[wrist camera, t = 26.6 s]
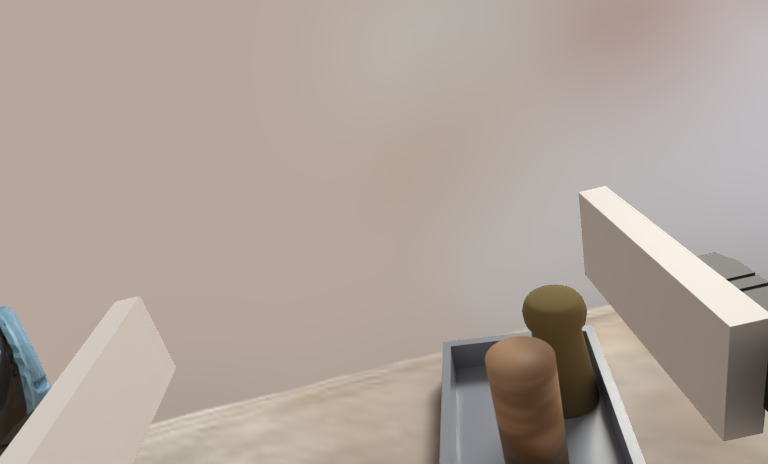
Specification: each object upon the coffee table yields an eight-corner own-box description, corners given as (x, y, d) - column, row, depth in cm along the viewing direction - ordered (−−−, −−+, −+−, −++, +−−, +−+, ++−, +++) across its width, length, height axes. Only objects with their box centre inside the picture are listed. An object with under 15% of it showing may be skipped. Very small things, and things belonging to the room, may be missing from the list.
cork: (541, 366, 53) (528, 272, 48) (606, 378, 50) (598, 278, 45) (521, 409, 49) (504, 310, 44) (591, 426, 45) (580, 320, 41)
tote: (448, 528, 41) (438, 492, 39) (450, 372, 57) (443, 342, 55) (653, 519, 38) (652, 480, 36) (595, 356, 54) (592, 324, 52)
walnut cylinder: (510, 495, 41) (488, 385, 37) (502, 444, 46) (481, 341, 41) (577, 489, 40) (562, 375, 36) (562, 438, 45) (547, 331, 40)
